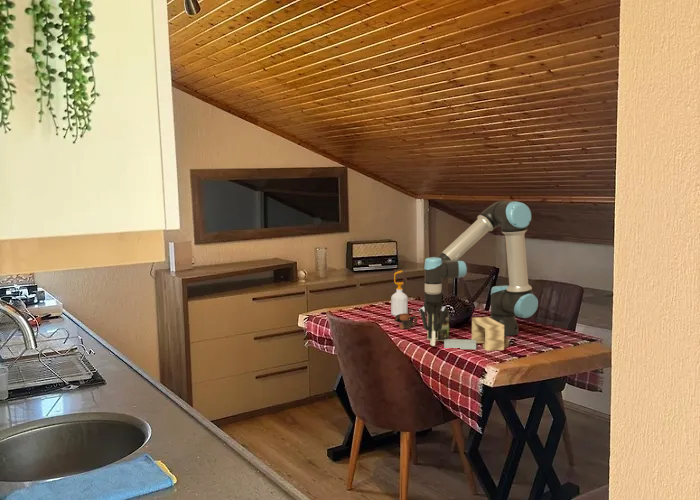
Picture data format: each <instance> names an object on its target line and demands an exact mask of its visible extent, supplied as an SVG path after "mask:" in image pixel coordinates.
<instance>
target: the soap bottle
mask: <svg viewBox="0 0 700 500" xmlns="http://www.w3.org/2000/svg"><path fill="white" fill-rule="evenodd" d="M401 273H403V270H399V271H396V272H394V274H393V282H394V284H395V285H396V286H397V287H396V291H395V292H394V293H393V294H392V295H391V296H390V315H392V316H396V315H399V314H403V313H407V314H409V311H408V310H409V309H408V308H409V307H408V303H409V301H408V300H409V299H408V298H409V297H408V295H407V294H406V293H405V292H403V287H402V285H404V281H401V282H399V281H397V282H396V275H397V274H401Z"/></svg>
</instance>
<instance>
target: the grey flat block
mask: <svg viewBox="0 0 700 500" xmlns="http://www.w3.org/2000/svg"><path fill="white" fill-rule="evenodd" d="M443 347H444V348H460V349H459V350H477V343H476V340H472V339H461V338H460V339H457V338H453V339H452V338H451V339H450V338H449V339H444V341H443ZM444 348H443V349H444Z"/></svg>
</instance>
